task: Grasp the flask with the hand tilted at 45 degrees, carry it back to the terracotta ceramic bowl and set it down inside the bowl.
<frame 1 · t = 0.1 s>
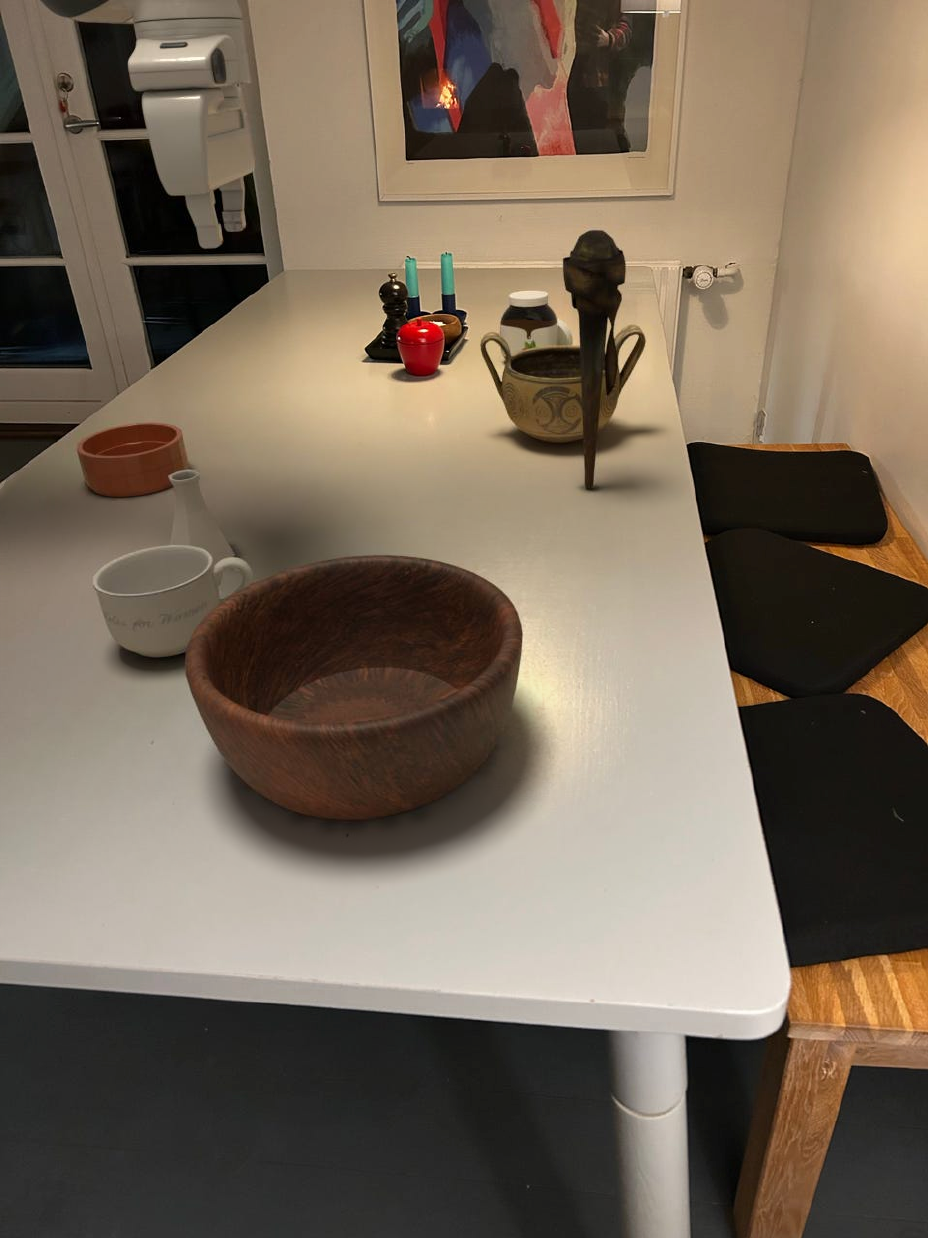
hand: (224, 238, 84), 33 cm above the table, tool pointing down, fingers open, 8 cm apart
terracotta bowl: (139, 478, 124), on the table
spread jar: (536, 360, 166), on the table
wooden bowl: (368, 739, 74), on the table
teacup: (188, 640, 88), on the table
decorative torch: (589, 489, 115), on the table
flask: (202, 560, 103), on the table
ceramic bowl: (560, 437, 131), on the table
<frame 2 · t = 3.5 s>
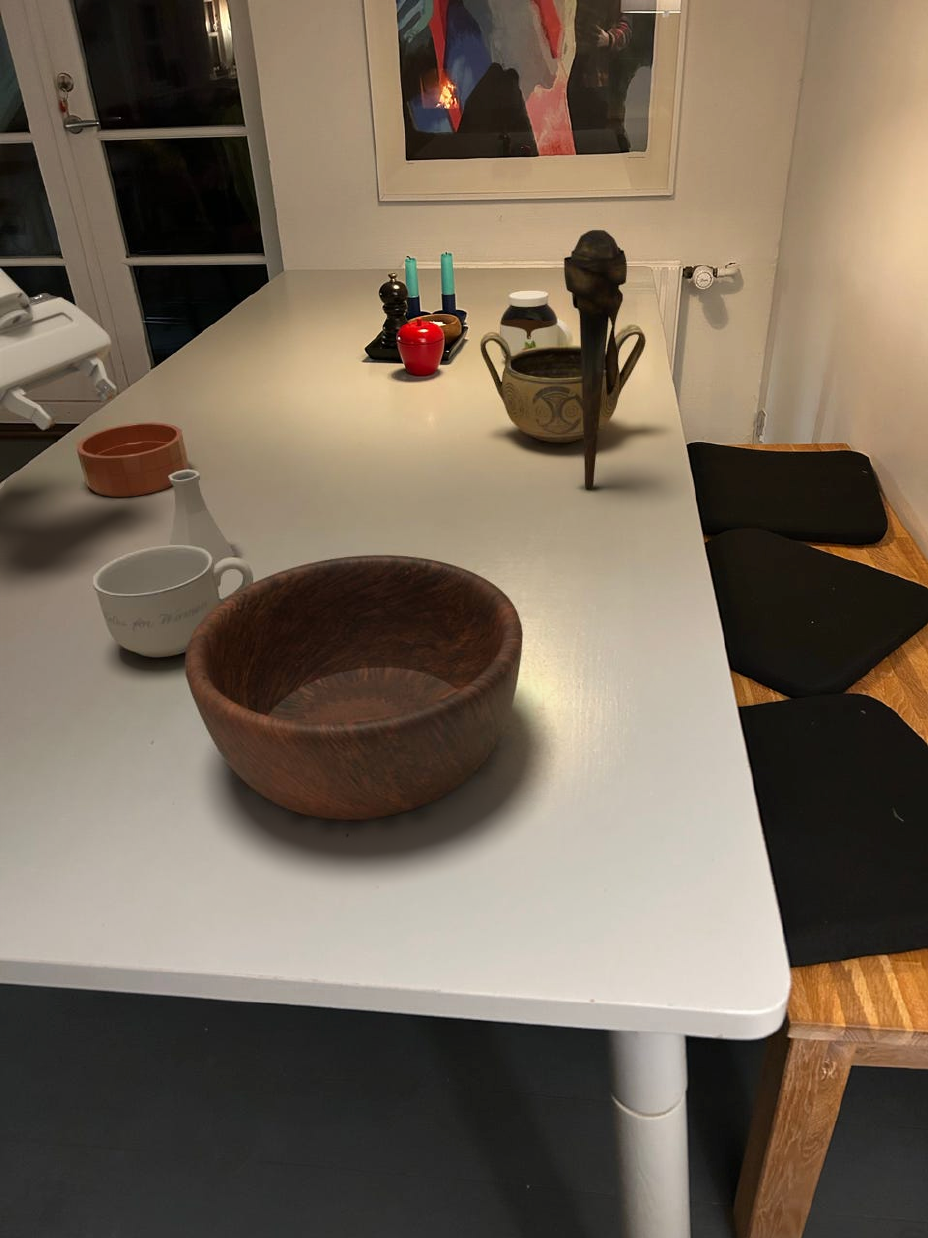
hand: (82, 409, 98), 16 cm above the table, tool tilted 45°, fingers open, 8 cm apart
nothing on the table moved.
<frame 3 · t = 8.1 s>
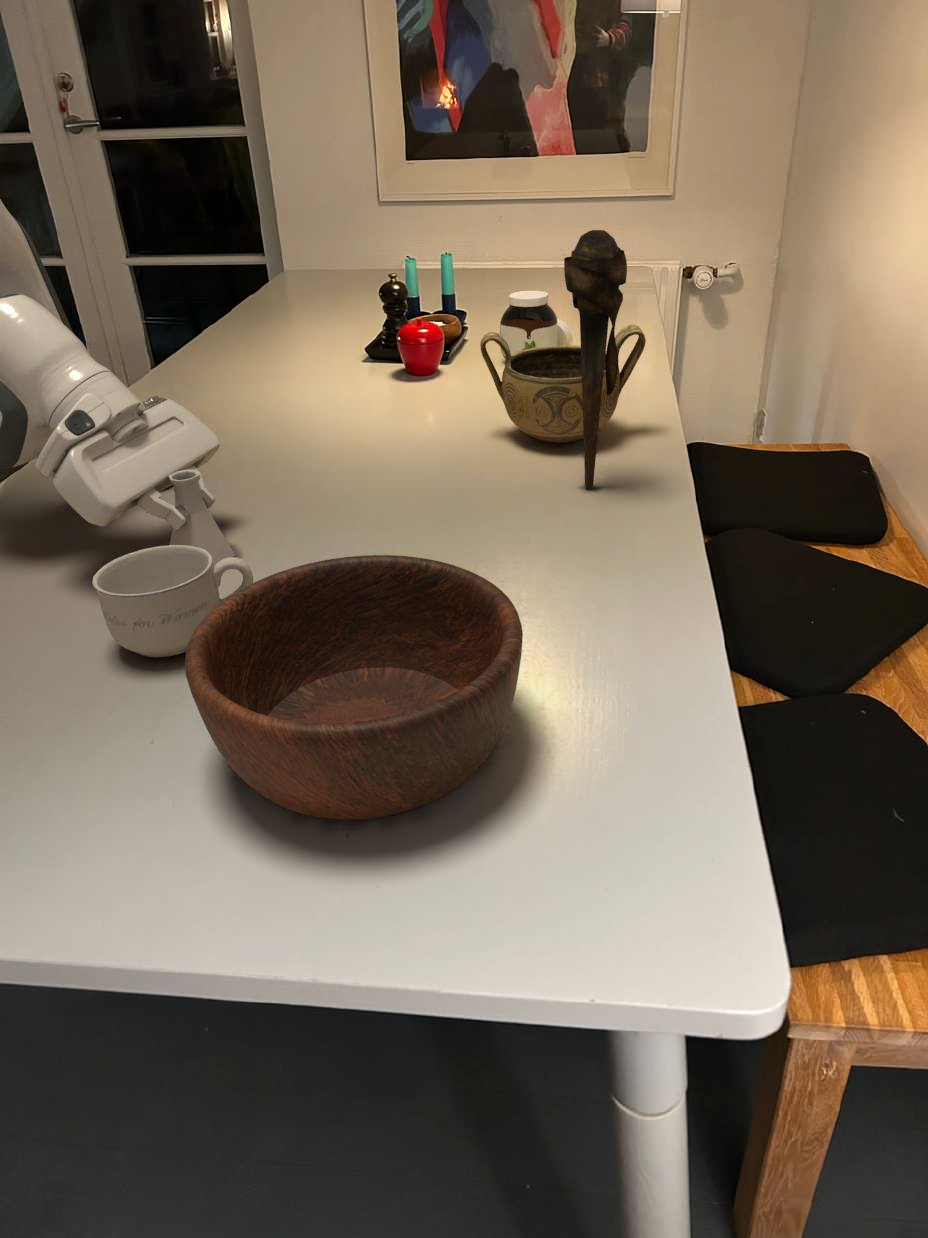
hand: (197, 515, 99), 5 cm above the table, tool tilted 45°, fingers closed on flask, 3 cm apart
flask: (202, 560, 103), on the table, touching gripper
everything else where it was.
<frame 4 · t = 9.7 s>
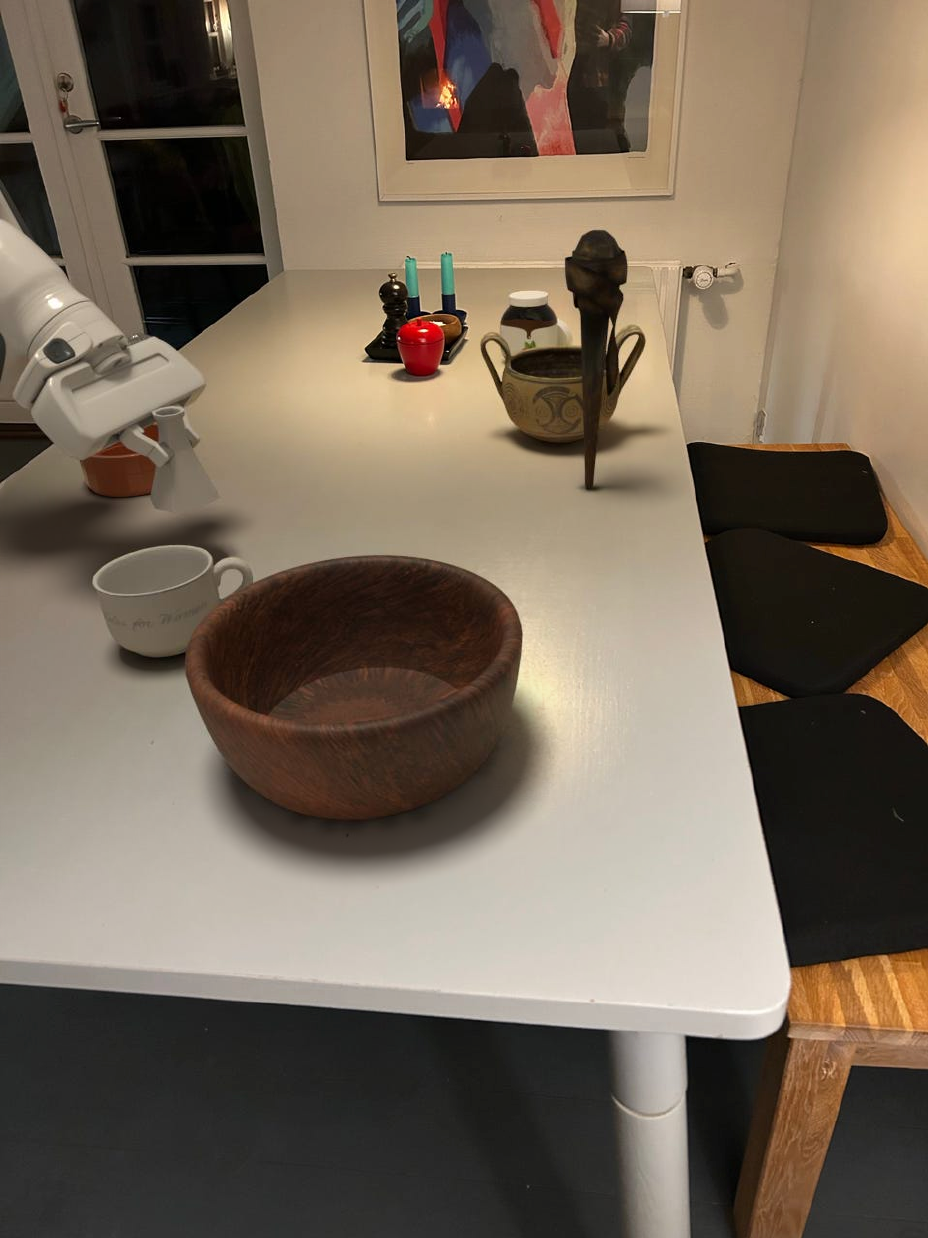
hand: (181, 453, 96), 12 cm above the table, tool tilted 45°, fingers closed on flask, 3 cm apart
flask: (186, 502, 99), point 7 cm above the table, touching gripper
everything else where it was.
when the fingers open (6 cm above the table, at t = 17.1 s): flask stays where it is, resting on terracotta bowl.
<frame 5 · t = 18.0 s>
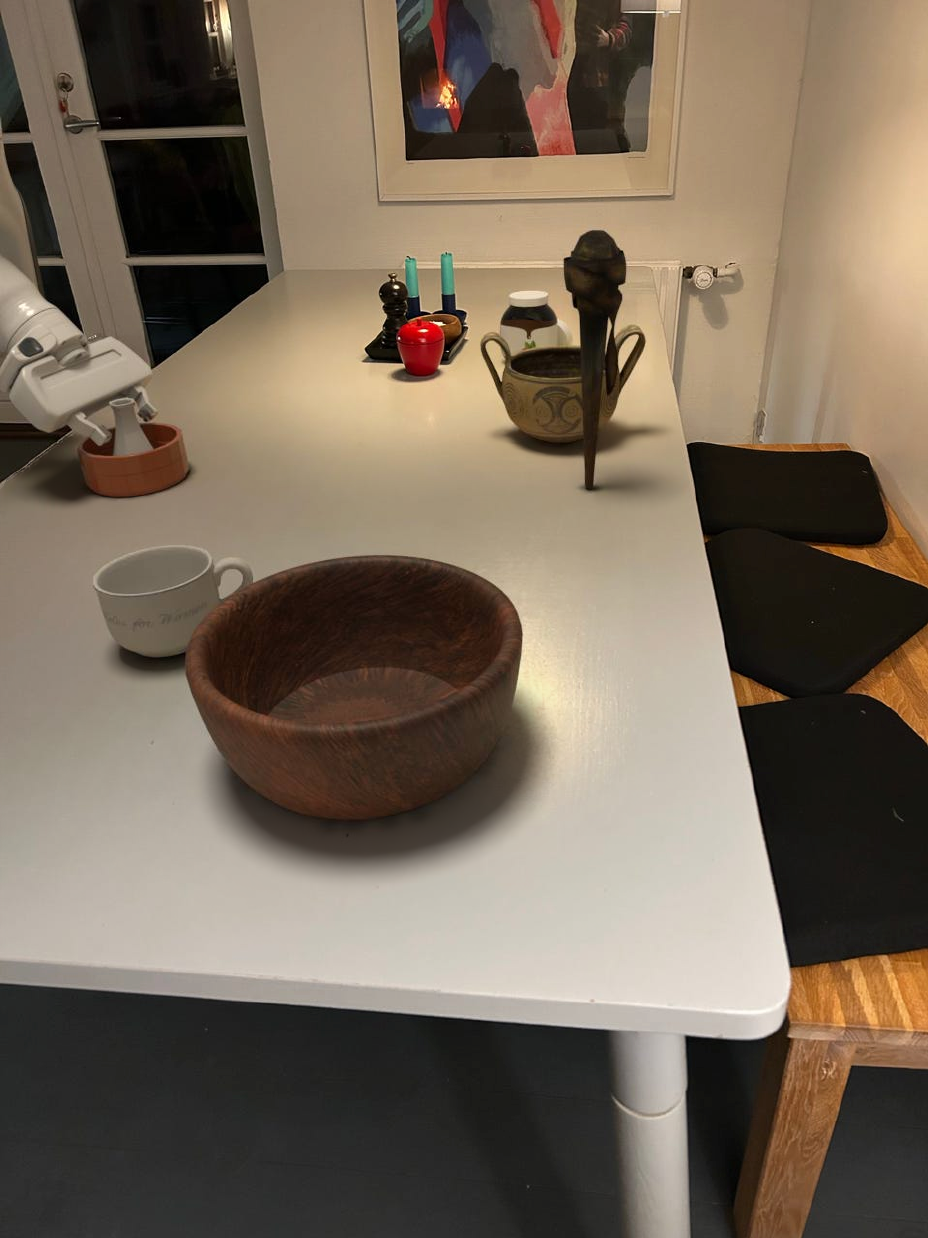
hand: (130, 429, 120), 7 cm above the table, tool tilted 45°, fingers open, 8 cm apart
flask: (139, 474, 124), resting on terracotta bowl
everything else where it was.
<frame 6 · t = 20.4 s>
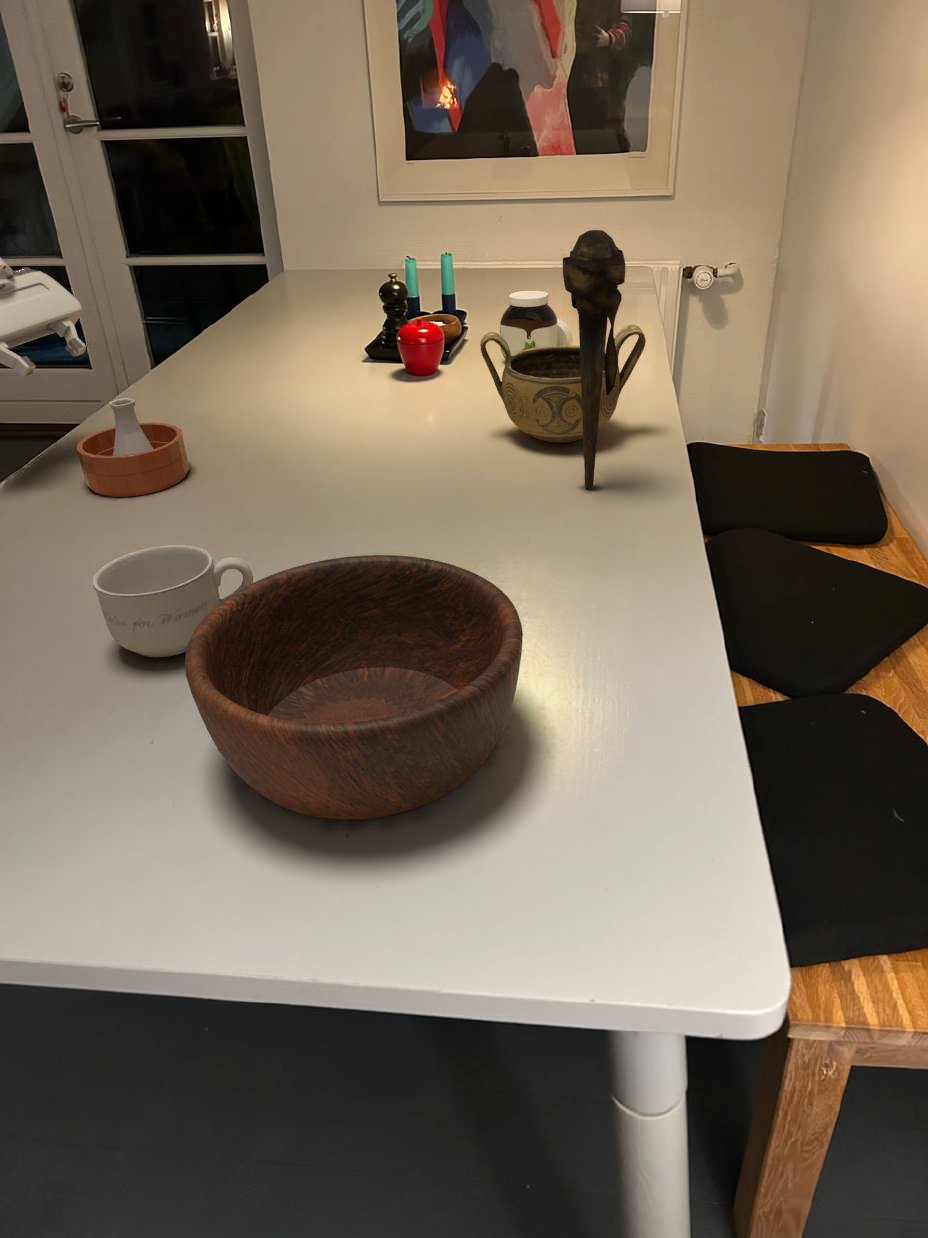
hand: (56, 362, 120), 15 cm above the table, tool tilted 45°, fingers open, 8 cm apart
nothing on the table moved.
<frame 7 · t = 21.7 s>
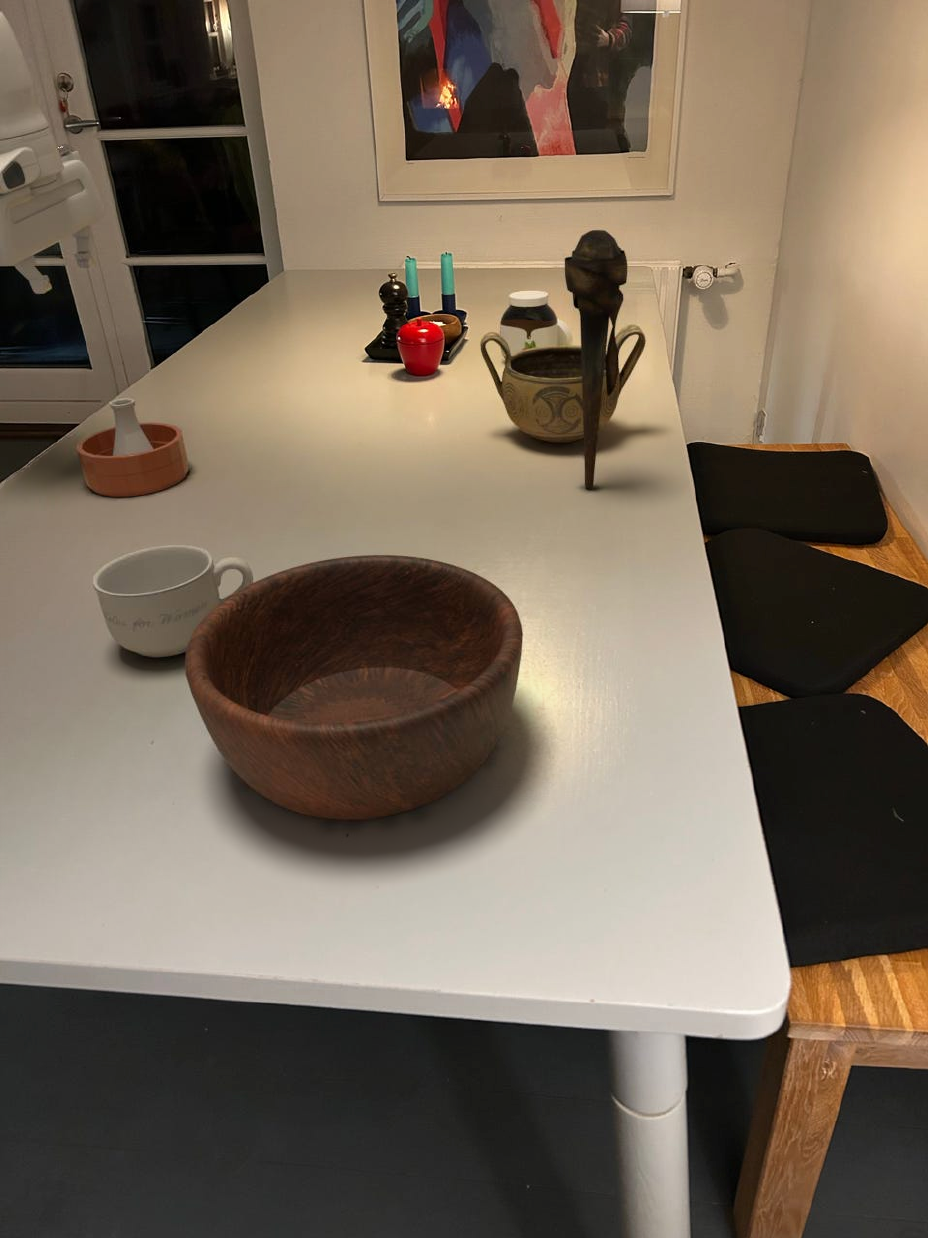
hand: (66, 278, 117), 25 cm above the table, tool pointing down, fingers open, 8 cm apart
nothing on the table moved.
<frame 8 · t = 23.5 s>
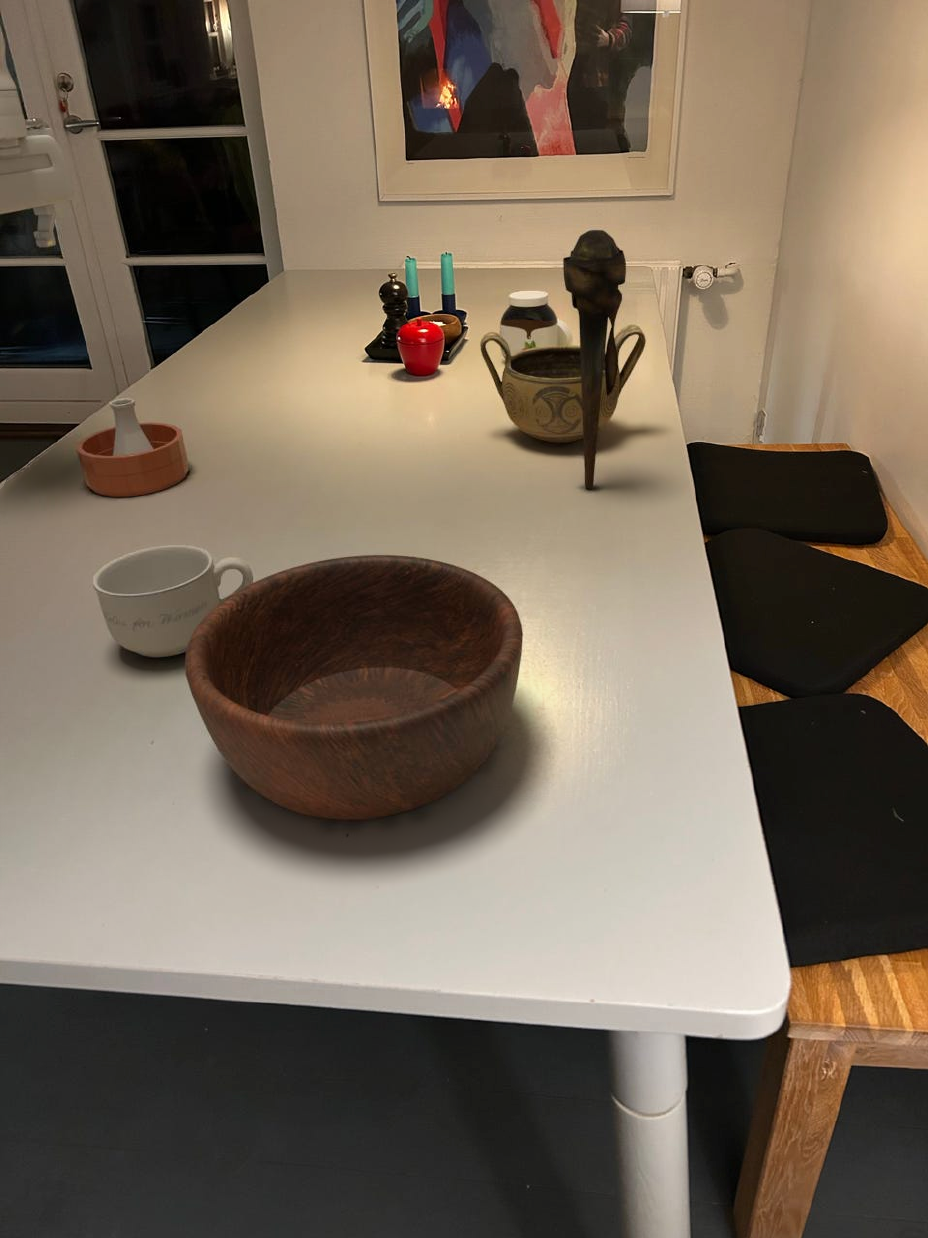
hand: (19, 253, 110), 29 cm above the table, tool pointing down, fingers open, 8 cm apart
nothing on the table moved.
at the end: flask inside the target area in the terracotta bowl (0.1 cm from its centre), point 0.4 cm above the terracotta bowl's base; flask tilted 0°; the gripper is holding nothing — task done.
